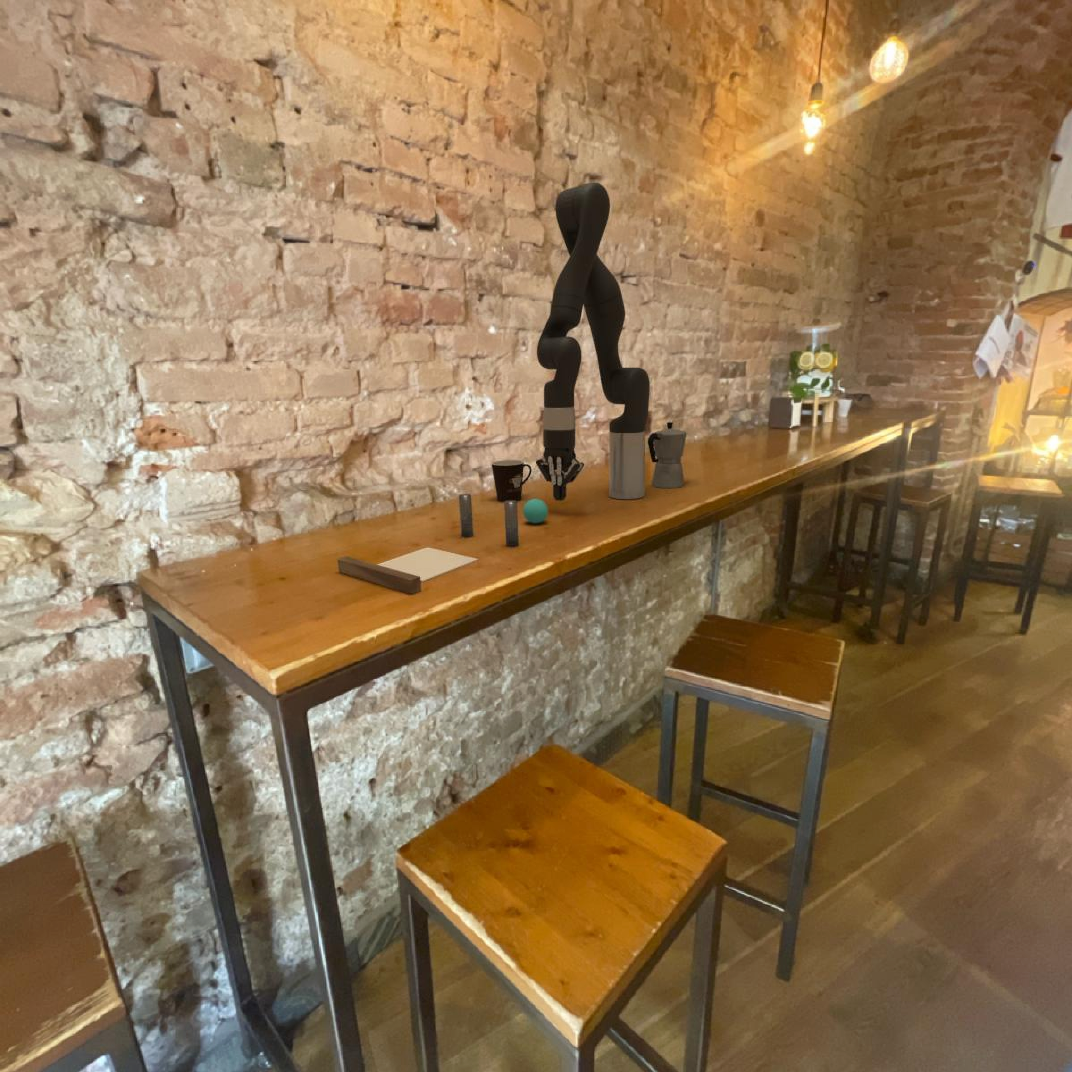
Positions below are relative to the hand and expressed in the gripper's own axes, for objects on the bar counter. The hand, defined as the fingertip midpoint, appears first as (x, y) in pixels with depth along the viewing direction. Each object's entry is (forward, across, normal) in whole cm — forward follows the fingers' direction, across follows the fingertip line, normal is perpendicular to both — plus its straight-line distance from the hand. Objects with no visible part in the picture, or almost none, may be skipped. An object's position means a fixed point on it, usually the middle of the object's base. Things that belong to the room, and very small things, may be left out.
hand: (559, 499), depth 147 cm
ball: (+1, 0, +10) cm, 10 cm away
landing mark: (+4, 0, +43) cm, 44 cm away
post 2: (+4, -6, +25) cm, 26 cm away
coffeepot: (+3, -7, -42) cm, 43 cm away
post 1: (+4, +6, +25) cm, 27 cm away
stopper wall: (+5, 0, +54) cm, 55 cm away
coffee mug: (+4, +20, -7) cm, 22 cm away
